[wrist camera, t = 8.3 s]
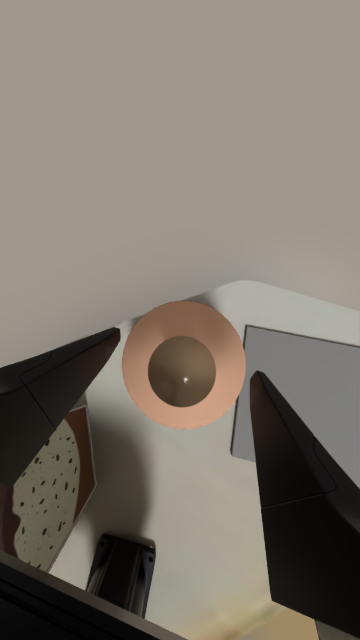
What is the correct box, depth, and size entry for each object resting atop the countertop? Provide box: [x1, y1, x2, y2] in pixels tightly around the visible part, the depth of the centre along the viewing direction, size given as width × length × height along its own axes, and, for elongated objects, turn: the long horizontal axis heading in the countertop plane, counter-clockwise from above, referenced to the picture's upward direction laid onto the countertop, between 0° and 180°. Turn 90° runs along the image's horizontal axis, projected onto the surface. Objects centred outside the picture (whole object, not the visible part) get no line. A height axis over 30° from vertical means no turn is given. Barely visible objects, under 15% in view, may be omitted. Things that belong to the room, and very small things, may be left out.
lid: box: [122, 301, 246, 429], centre depth 12 cm, size 13×13×10 cm
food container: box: [0, 404, 97, 573], centre depth 14 cm, size 12×6×10 cm, turn 14°
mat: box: [231, 326, 360, 488], centre depth 19 cm, size 16×16×1 cm
